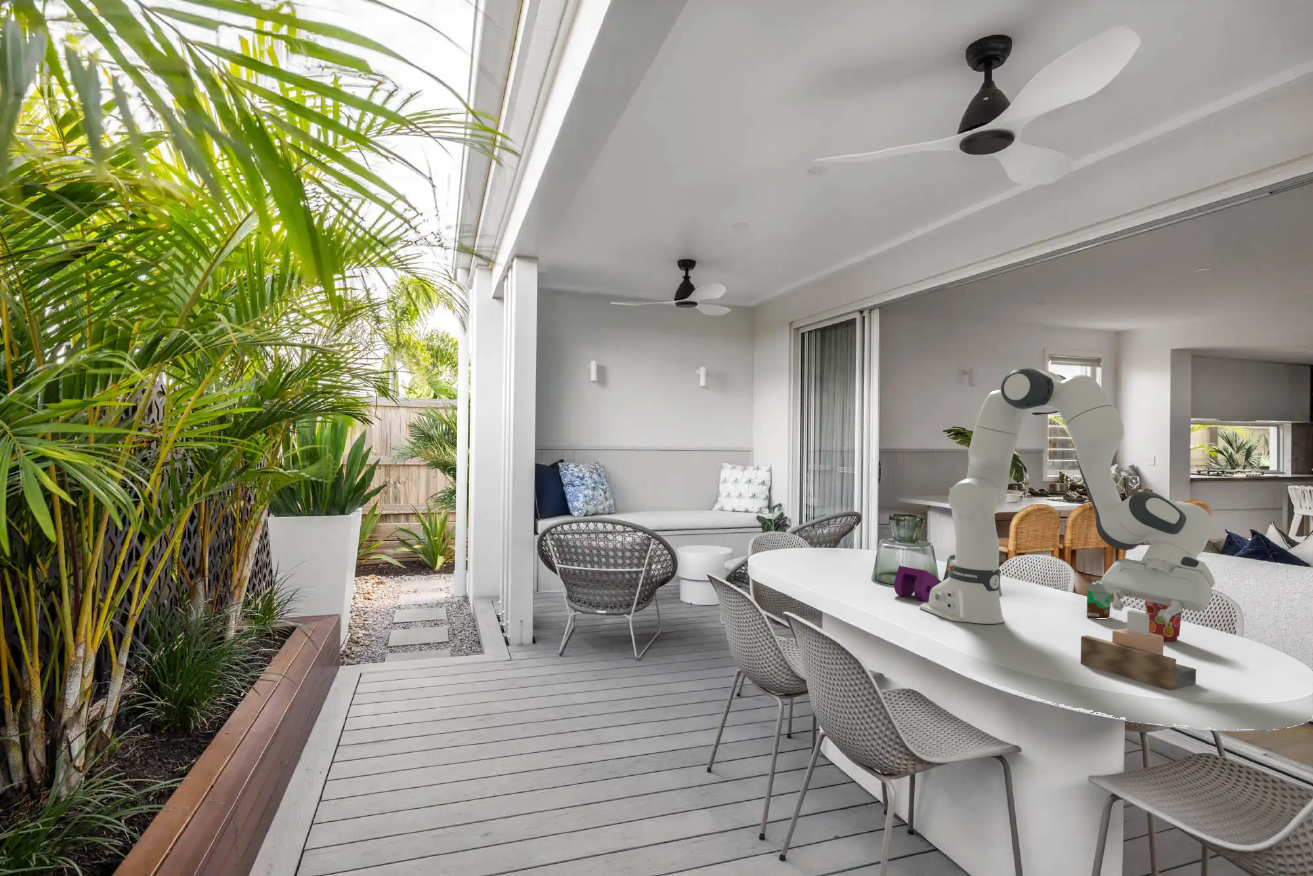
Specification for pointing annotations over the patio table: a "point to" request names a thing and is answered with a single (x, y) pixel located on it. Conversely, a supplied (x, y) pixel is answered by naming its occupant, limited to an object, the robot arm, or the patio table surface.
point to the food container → (1098, 600)
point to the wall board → (1135, 663)
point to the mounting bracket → (914, 583)
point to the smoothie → (1162, 622)
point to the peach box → (1138, 634)
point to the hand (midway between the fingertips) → (1138, 613)
